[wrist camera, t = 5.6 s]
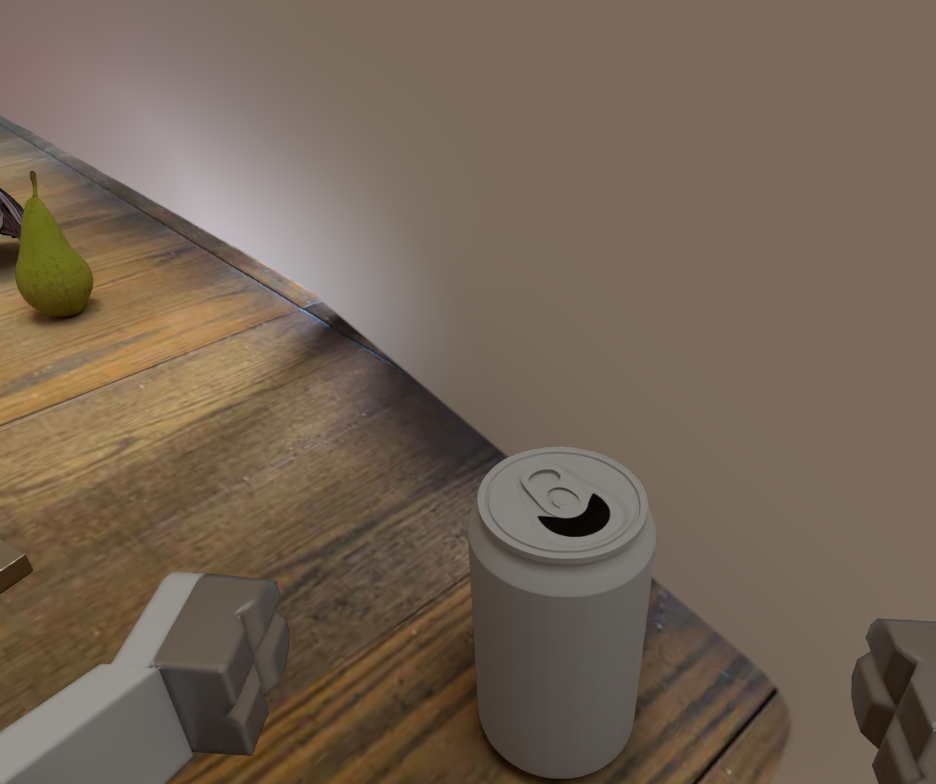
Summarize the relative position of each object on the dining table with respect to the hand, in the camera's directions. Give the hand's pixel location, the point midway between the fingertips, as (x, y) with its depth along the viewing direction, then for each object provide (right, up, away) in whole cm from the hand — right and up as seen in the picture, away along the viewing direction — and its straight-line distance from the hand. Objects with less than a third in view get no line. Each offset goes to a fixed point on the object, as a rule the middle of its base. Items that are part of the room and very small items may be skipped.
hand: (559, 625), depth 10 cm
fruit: (-36, +10, +55) cm, 67 cm away
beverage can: (+2, -10, +21) cm, 23 cm away
